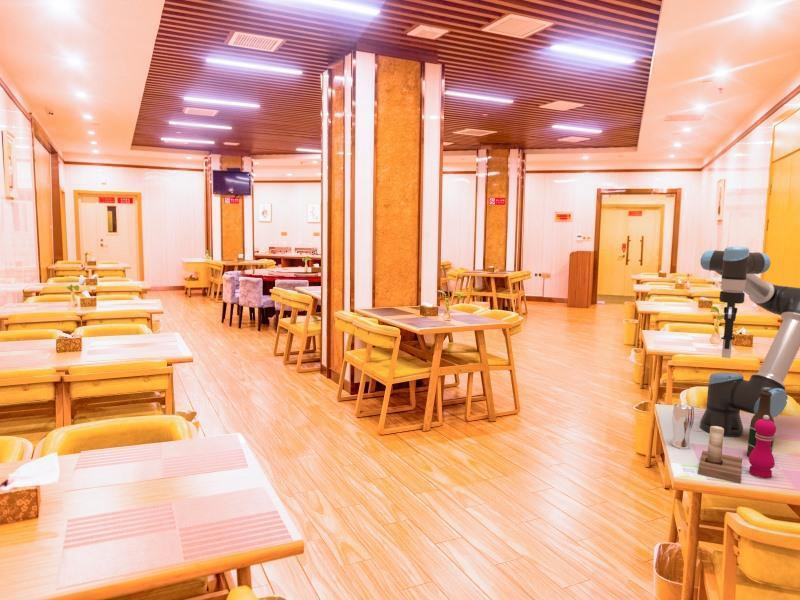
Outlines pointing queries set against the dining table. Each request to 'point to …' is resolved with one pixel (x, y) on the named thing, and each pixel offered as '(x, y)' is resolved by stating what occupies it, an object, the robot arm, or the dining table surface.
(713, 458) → the peg
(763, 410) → the beer bottle
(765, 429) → the pepper mill
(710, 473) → the board
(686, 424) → the beer glass
